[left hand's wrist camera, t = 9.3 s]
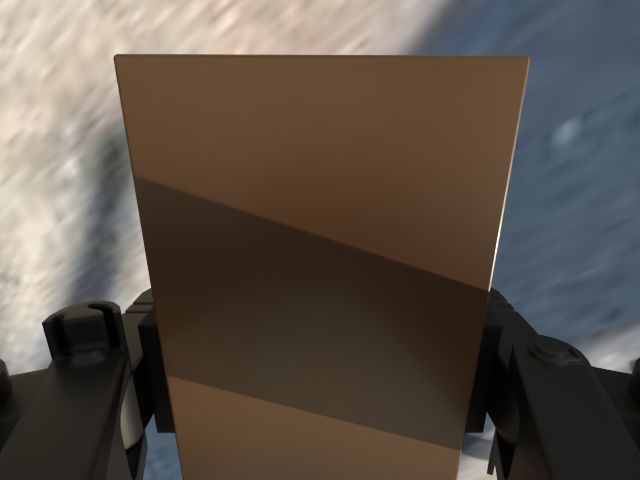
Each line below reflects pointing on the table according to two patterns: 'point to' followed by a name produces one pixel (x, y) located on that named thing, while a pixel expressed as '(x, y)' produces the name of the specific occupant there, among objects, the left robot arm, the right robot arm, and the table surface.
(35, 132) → the table surface
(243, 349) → the post
